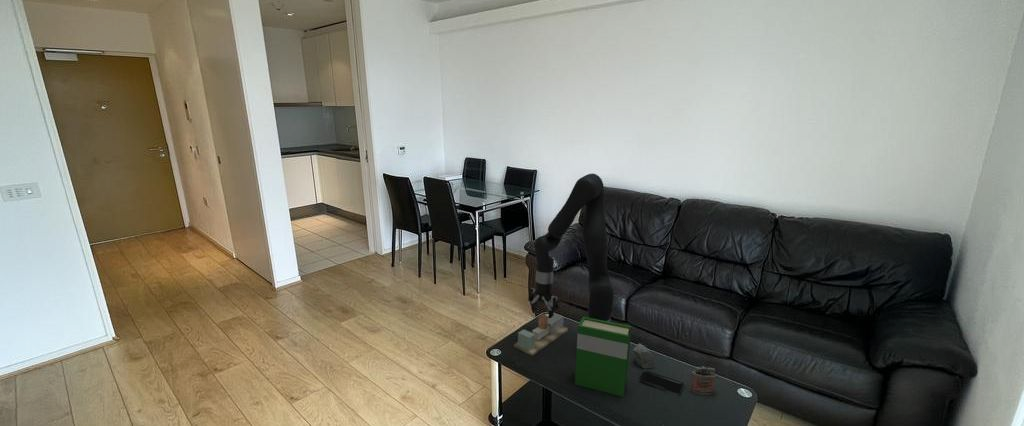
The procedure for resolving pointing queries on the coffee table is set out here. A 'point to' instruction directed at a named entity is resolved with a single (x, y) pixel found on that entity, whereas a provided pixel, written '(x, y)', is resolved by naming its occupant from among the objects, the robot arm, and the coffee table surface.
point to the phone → (661, 383)
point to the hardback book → (602, 355)
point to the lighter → (703, 381)
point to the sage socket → (526, 340)
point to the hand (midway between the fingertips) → (542, 314)
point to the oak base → (543, 342)
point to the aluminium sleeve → (555, 323)
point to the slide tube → (542, 327)
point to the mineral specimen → (643, 356)
